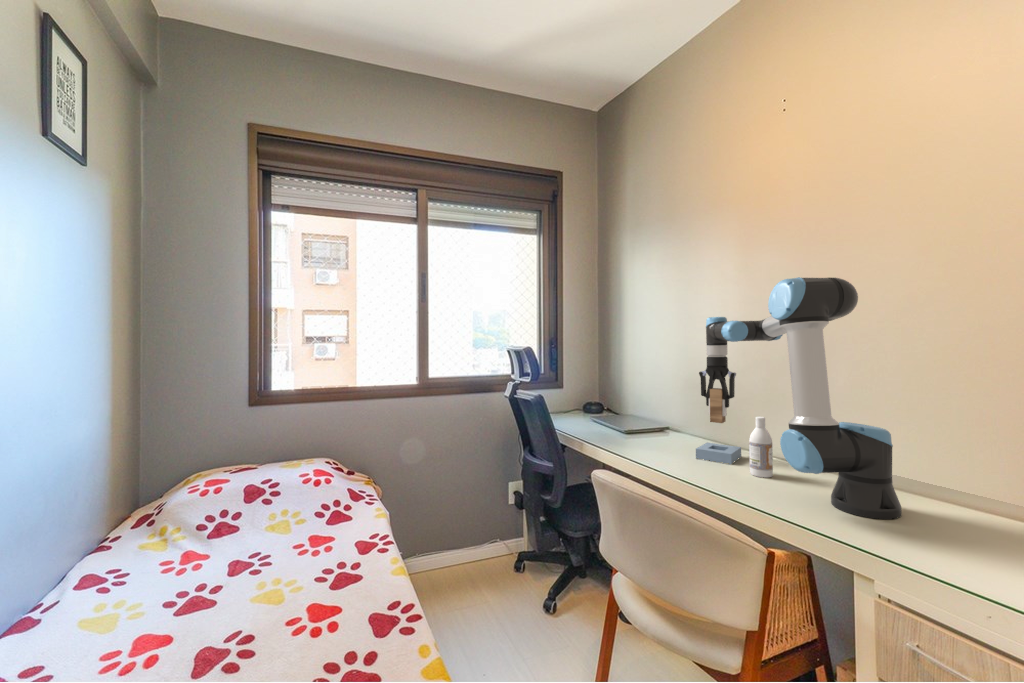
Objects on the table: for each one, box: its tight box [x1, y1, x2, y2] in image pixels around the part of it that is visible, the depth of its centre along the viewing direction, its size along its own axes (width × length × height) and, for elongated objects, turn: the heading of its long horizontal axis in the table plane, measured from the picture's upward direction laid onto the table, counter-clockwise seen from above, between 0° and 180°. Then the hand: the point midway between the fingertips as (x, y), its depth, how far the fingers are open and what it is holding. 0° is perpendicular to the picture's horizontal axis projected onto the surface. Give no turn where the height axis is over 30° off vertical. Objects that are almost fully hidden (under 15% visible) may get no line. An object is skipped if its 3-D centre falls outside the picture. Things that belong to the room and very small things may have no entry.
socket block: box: [695, 442, 742, 465], centre depth 174 cm, size 13×13×4 cm
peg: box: [709, 387, 726, 424], centre depth 174 cm, size 4×4×13 cm
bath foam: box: [748, 416, 774, 479], centre depth 152 cm, size 7×7×20 cm
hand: (717, 414), depth 174 cm, fingers closed on peg, 4 cm apart
